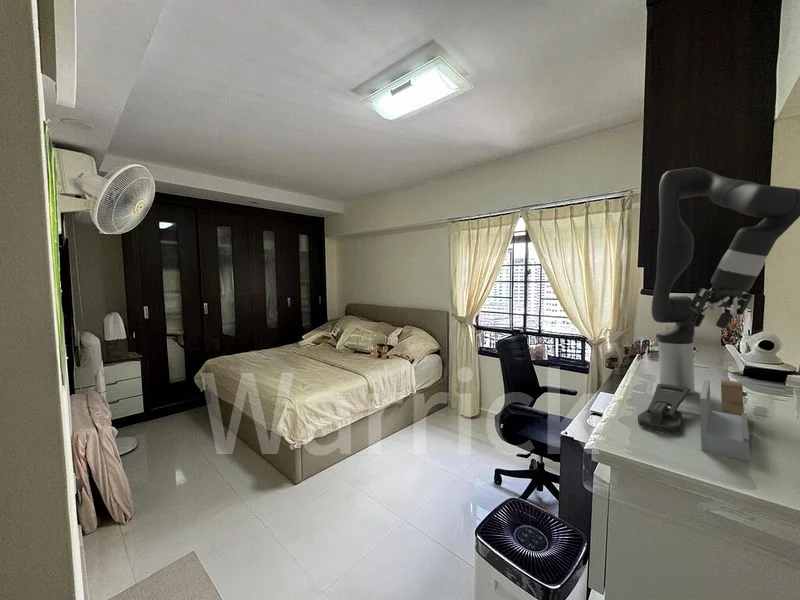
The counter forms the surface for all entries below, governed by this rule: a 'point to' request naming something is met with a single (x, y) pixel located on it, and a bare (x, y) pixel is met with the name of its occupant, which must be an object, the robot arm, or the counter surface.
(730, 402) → the cabinet
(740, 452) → the board
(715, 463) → the counter surface
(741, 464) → the counter surface
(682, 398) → the zipper pull
